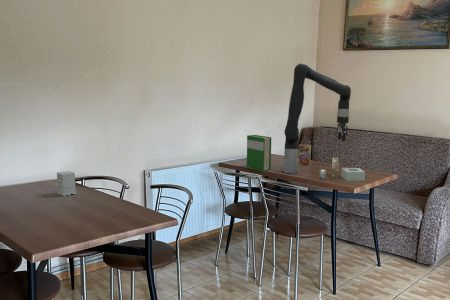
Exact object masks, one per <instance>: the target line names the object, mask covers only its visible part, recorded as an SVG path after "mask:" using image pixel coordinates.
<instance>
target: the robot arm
mask: <svg viewBox="0 0 450 300" xmlns="http://www.w3.org/2000/svg"><path fill="white" fill-rule="evenodd" d="M305 79H308V80H310V81H312V82H314V83H317V84H318V85H319V86H322V87H323V88H325V89H328V90H329V91H331V92H334V93H336V94H337V95H339V101H338V104H337V105H338V106H337V112H336V113H337V114H336V115H337V116H336V123H337V129H336V132H337V135H338V136H337V140H341V142H346V136H347V135H348V125H347V124H349V123H350V122H349V121H350V100H351V93H352V89H351V87H350V86H349V85H346V84H343V83H340V82H338V81H337V80H336V79H333V78H331V77H330V76H326V75H324V74H322V73H320V72H318V71H315V70H314V69H313V68H311V67H310V66H309V65H308V64H306V63H299V64H298V63H297V64H296V66H295V67H294V69H293V84H292V88H291V92H290V99H289V105H288V114H287V116H288V117H287V121H286V126H285V127H284V128H285V129H284V136H285V143H284V151H283V152H284V153H283V154H284V158H283V167H282V168H283V173H284V174H297V173H298V151H299V142H300V141H299V139H300V130H299V119H300V117H301V114H302V110H303V107H304V101H305V89H304V88H305V87H304V85H305Z"/></svg>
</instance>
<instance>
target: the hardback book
mask: <svg viewBox="0 0 450 300" xmlns="http://www.w3.org/2000/svg"><path fill="white" fill-rule="evenodd" d="M247 167H249V168H252V169H251V170H253V169H254V171H259V172H262V173H264V172H265V171H269V170H271V171H272V169H271V168H272V137H271V136H264V135H258V134H248V135H246V168H247ZM249 168H248V169H249Z"/></svg>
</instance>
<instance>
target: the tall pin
mask: <svg viewBox="0 0 450 300" xmlns="http://www.w3.org/2000/svg"><path fill="white" fill-rule="evenodd" d="M339 160H340V159H339V157H332V161H331V180H338V178H339Z"/></svg>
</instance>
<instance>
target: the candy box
mask: <svg viewBox="0 0 450 300" xmlns="http://www.w3.org/2000/svg"><path fill="white" fill-rule="evenodd" d="M311 153H312V144H311V145H309V144H298V161H297V166H311V156H312V155H311Z"/></svg>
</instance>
